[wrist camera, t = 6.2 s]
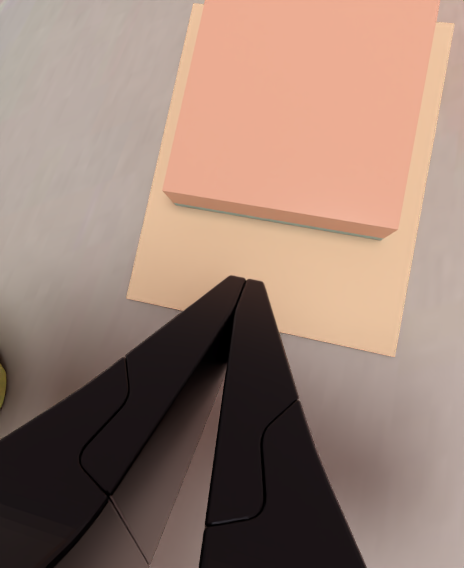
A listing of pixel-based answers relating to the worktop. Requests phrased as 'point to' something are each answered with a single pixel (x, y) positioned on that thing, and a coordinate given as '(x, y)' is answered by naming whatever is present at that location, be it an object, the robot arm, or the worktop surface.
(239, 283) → the robot arm
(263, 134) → the tile
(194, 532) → the worktop surface
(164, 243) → the cork mat
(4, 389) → the plant pot
